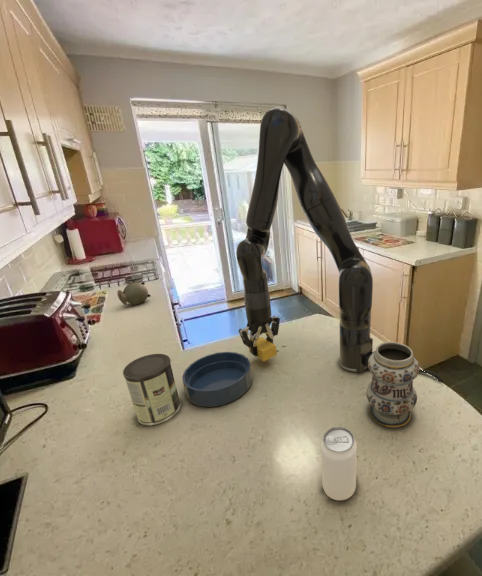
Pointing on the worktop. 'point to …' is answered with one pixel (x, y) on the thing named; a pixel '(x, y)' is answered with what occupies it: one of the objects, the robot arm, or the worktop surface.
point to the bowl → (217, 379)
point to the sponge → (265, 349)
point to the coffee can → (152, 388)
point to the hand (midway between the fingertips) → (262, 351)
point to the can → (338, 463)
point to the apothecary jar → (392, 384)
